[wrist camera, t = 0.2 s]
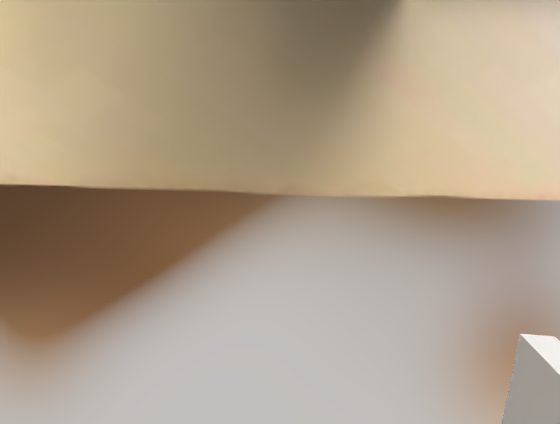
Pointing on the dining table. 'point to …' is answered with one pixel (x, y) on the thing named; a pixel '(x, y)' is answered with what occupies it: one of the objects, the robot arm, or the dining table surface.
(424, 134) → the dining table surface
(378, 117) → the dining table surface
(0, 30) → the dining table surface
